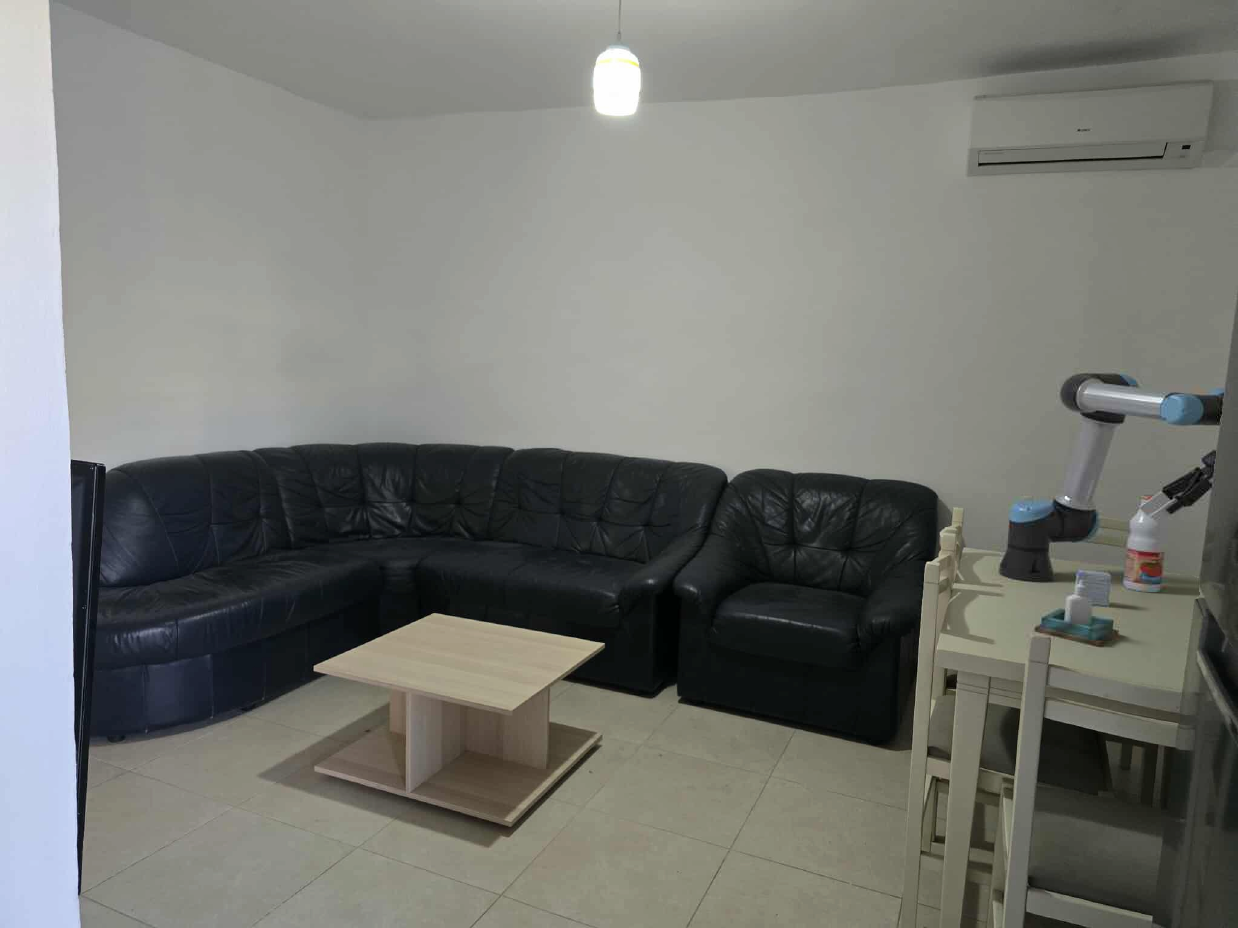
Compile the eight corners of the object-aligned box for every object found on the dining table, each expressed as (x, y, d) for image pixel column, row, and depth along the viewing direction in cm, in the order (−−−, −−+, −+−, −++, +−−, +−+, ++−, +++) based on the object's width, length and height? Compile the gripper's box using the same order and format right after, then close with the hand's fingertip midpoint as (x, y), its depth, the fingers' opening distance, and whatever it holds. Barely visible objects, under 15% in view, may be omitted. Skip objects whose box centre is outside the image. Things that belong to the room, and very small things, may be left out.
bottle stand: (1034, 630, 194) (1035, 617, 194) (1056, 620, 204) (1057, 606, 203) (1098, 646, 184) (1099, 631, 184) (1118, 634, 193) (1119, 620, 193)
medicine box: (1106, 603, 221) (1109, 572, 220) (1108, 607, 217) (1111, 576, 216) (1073, 599, 224) (1076, 569, 223) (1075, 603, 220) (1078, 572, 219)
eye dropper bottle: (1063, 624, 197) (1068, 576, 196) (1090, 628, 194) (1094, 580, 193) (1063, 628, 193) (1068, 580, 192) (1090, 633, 191) (1095, 584, 189)
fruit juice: (1136, 583, 243) (1145, 492, 240) (1167, 591, 235) (1177, 497, 232) (1115, 585, 240) (1124, 493, 237) (1146, 594, 231) (1156, 498, 228)
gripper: (1257, 477, 181) (1171, 536, 188) (1224, 466, 203) (1149, 519, 211) (1231, 453, 182) (1147, 511, 190) (1201, 444, 205) (1127, 497, 212)
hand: (1148, 515), depth 200 cm, fingers open, 13 cm apart
